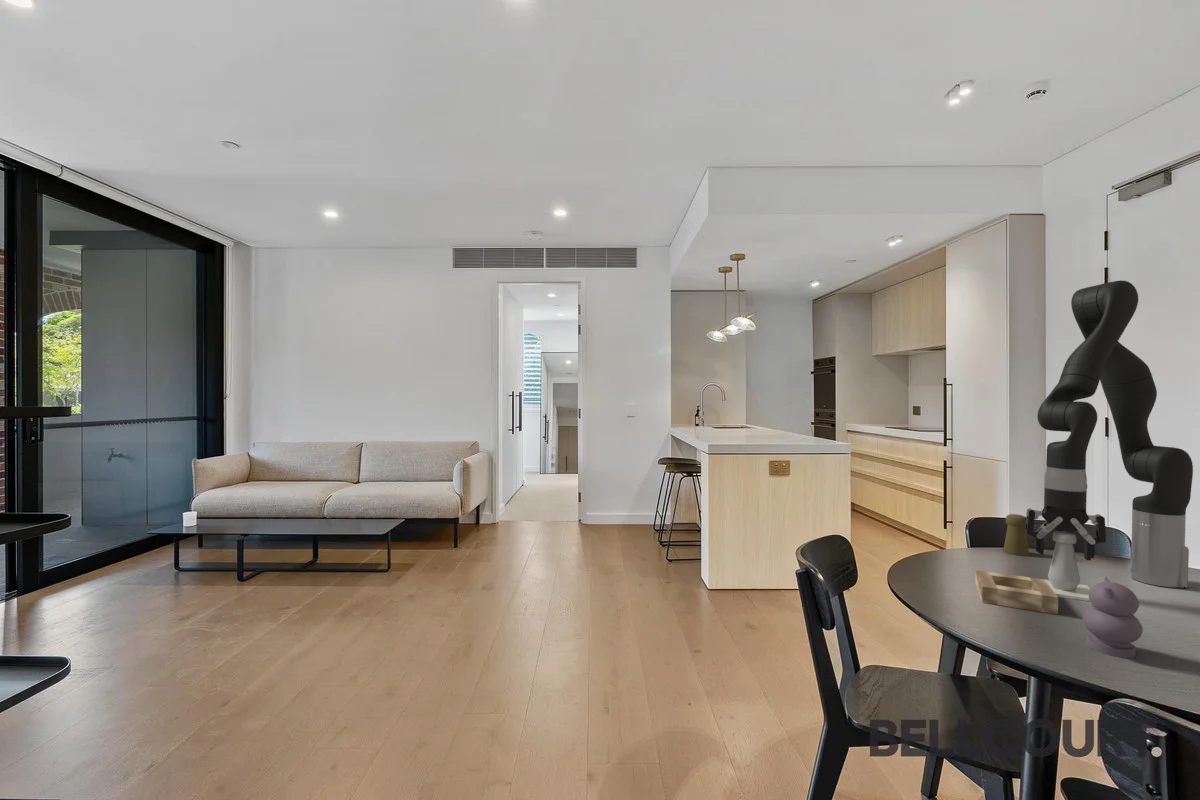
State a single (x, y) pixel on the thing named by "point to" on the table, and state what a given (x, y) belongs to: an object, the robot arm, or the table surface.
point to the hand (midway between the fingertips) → (1063, 556)
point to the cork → (1016, 536)
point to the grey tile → (1072, 592)
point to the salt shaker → (1064, 562)
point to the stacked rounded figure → (1112, 619)
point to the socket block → (1016, 591)
